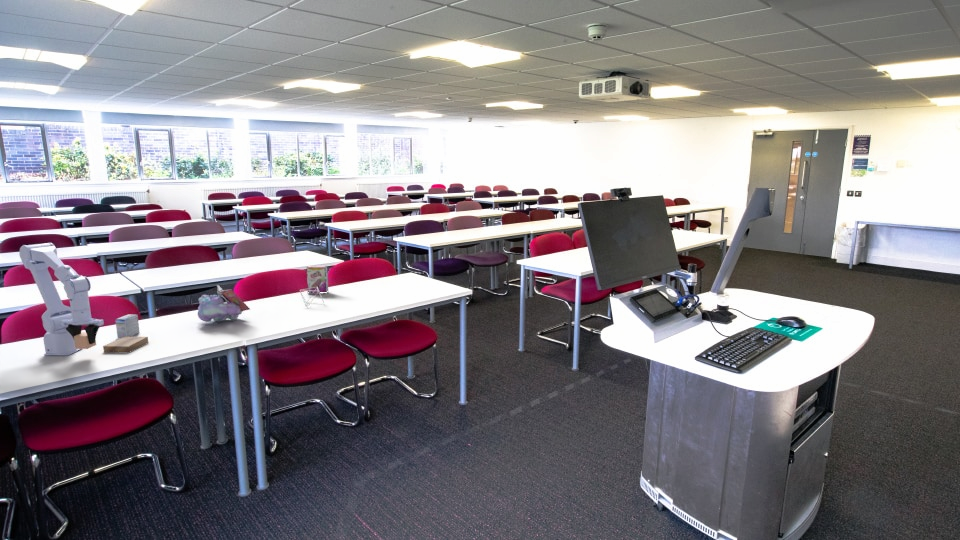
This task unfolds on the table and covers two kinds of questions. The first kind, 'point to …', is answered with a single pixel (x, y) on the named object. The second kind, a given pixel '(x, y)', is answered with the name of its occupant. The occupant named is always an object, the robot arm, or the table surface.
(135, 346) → the walnut block
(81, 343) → the terracotta block
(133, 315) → the medicine box
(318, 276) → the candy bar box
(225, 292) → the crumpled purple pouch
